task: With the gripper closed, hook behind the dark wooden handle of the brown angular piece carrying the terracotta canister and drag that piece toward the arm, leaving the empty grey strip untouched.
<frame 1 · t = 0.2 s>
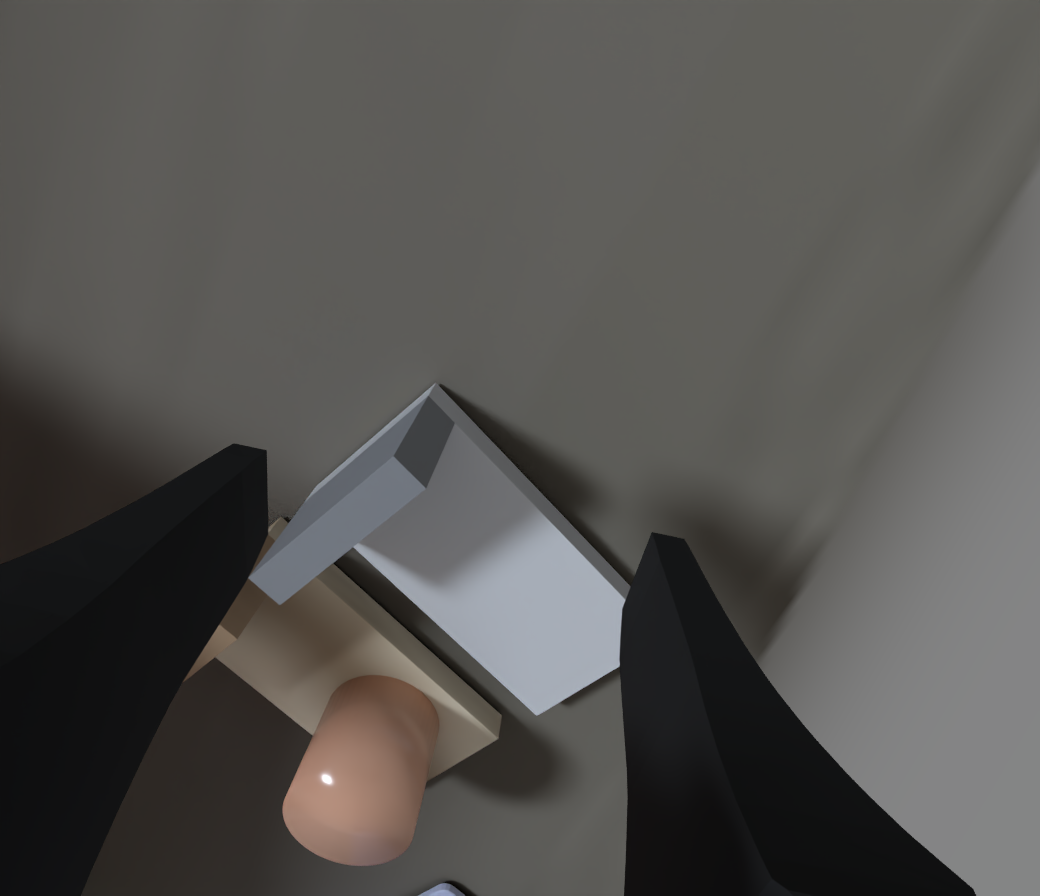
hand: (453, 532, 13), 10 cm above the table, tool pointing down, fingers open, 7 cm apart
canister: (383, 719, 28), point 1 cm above the table, touching brown angular piece
grey strip: (482, 600, 23), point 3 cm above the table, slide at 0.0 cm
brown angular piece: (322, 711, 26), point 3 cm above the table, slide at 0.0 cm, touching canister
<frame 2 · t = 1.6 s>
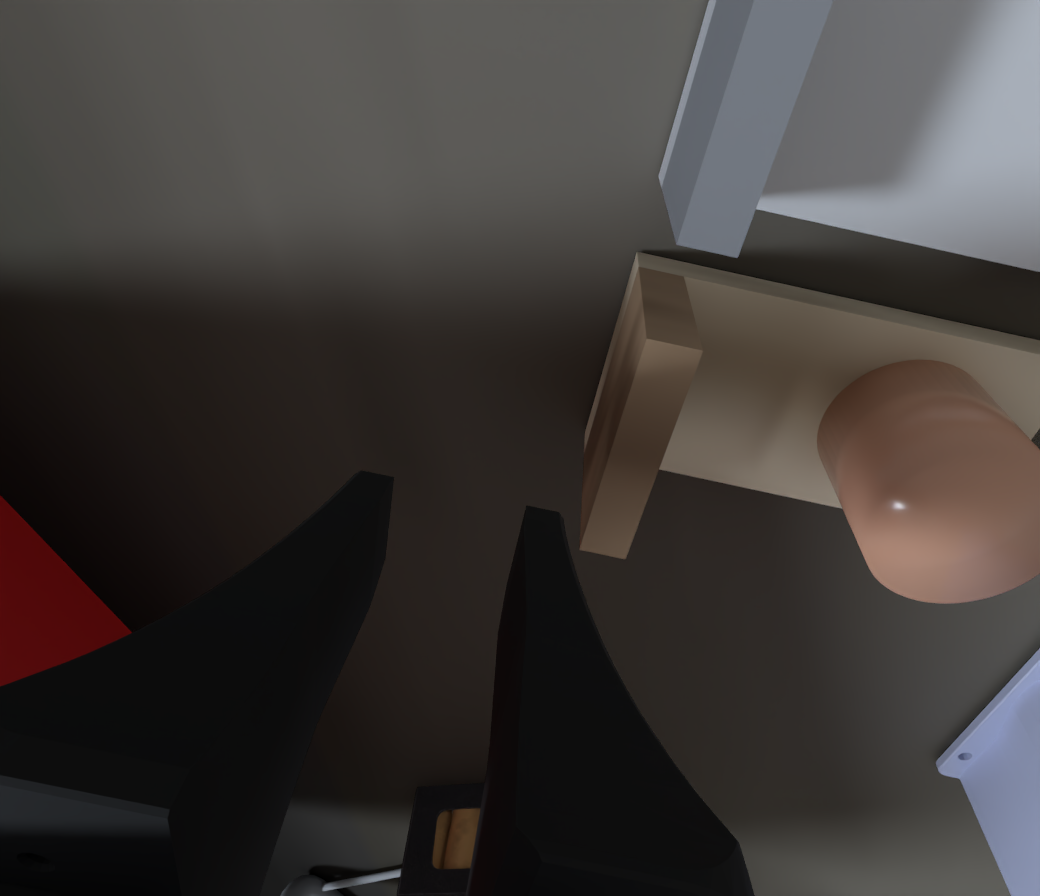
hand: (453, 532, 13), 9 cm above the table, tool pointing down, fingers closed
book: (7, 588, 30), on the table
canister: (900, 430, 20), point 1 cm above the table, touching brown angular piece
ammunition clip: (524, 787, 35), on the table
grey strip: (1000, 120, 14), point 3 cm above the table, slide at 0.0 cm
brown angular piece: (830, 443, 19), point 3 cm above the table, slide at 0.0 cm, touching canister
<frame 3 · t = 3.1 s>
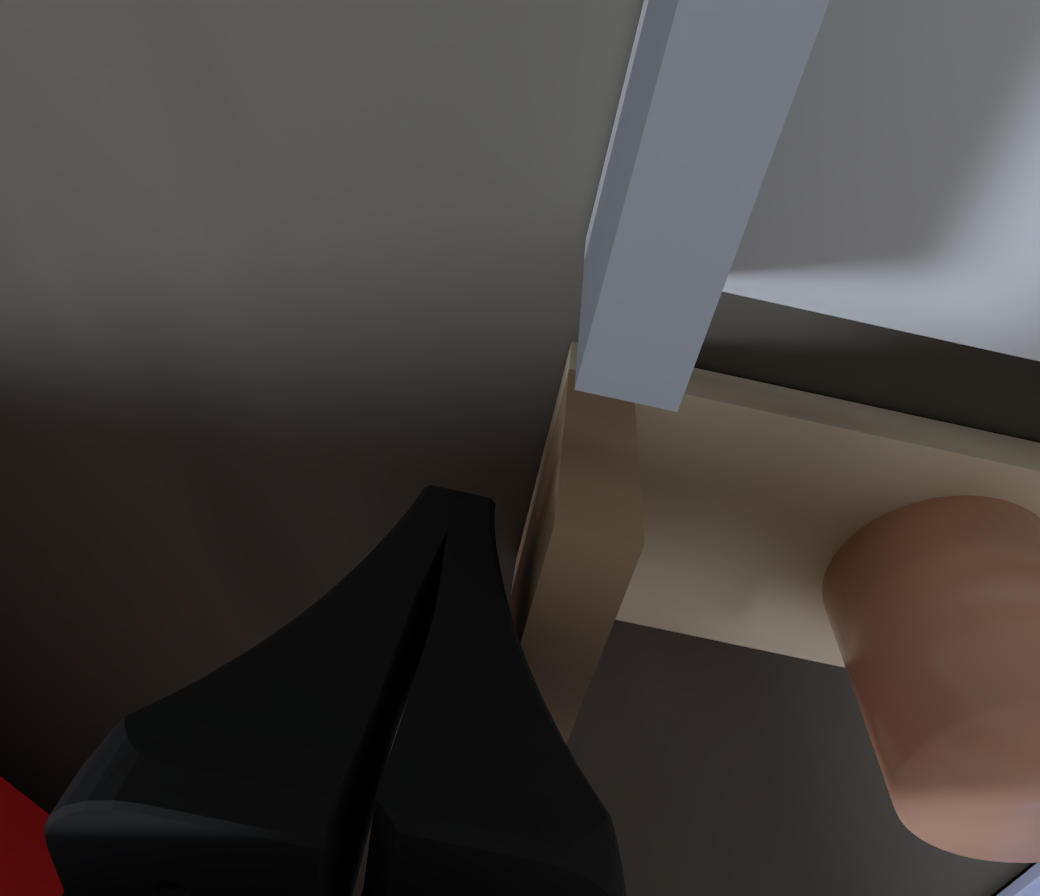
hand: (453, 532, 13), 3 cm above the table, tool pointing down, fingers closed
canister: (936, 581, 15), point 1 cm above the table, touching brown angular piece
brown angular piece: (841, 614, 13), point 3 cm above the table, slide at 0.2 cm, touching canister, gripper
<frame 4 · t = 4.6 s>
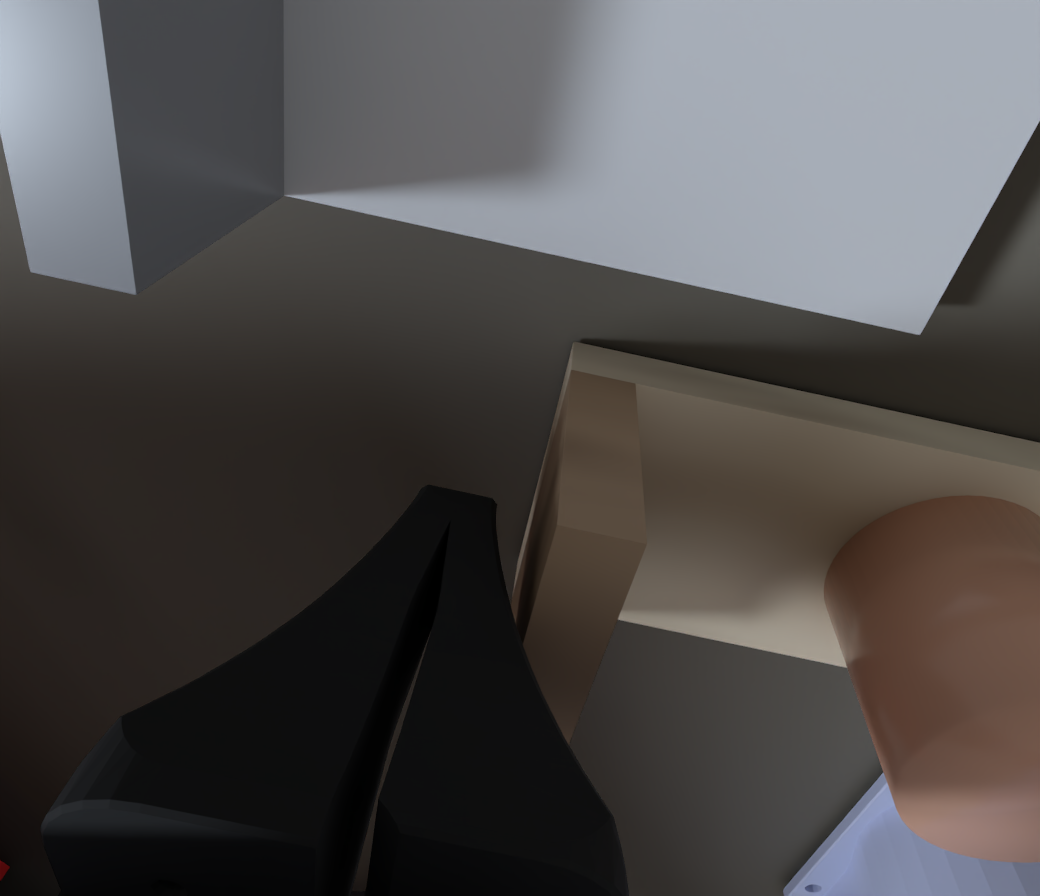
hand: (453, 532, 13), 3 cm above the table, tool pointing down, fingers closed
canister: (938, 581, 15), point 1 cm above the table, touching brown angular piece
grey strip: (618, 66, 9), point 3 cm above the table, slide at 0.0 cm
brown angular piece: (843, 614, 13), point 3 cm above the table, slide at 6.5 cm, touching canister, gripper
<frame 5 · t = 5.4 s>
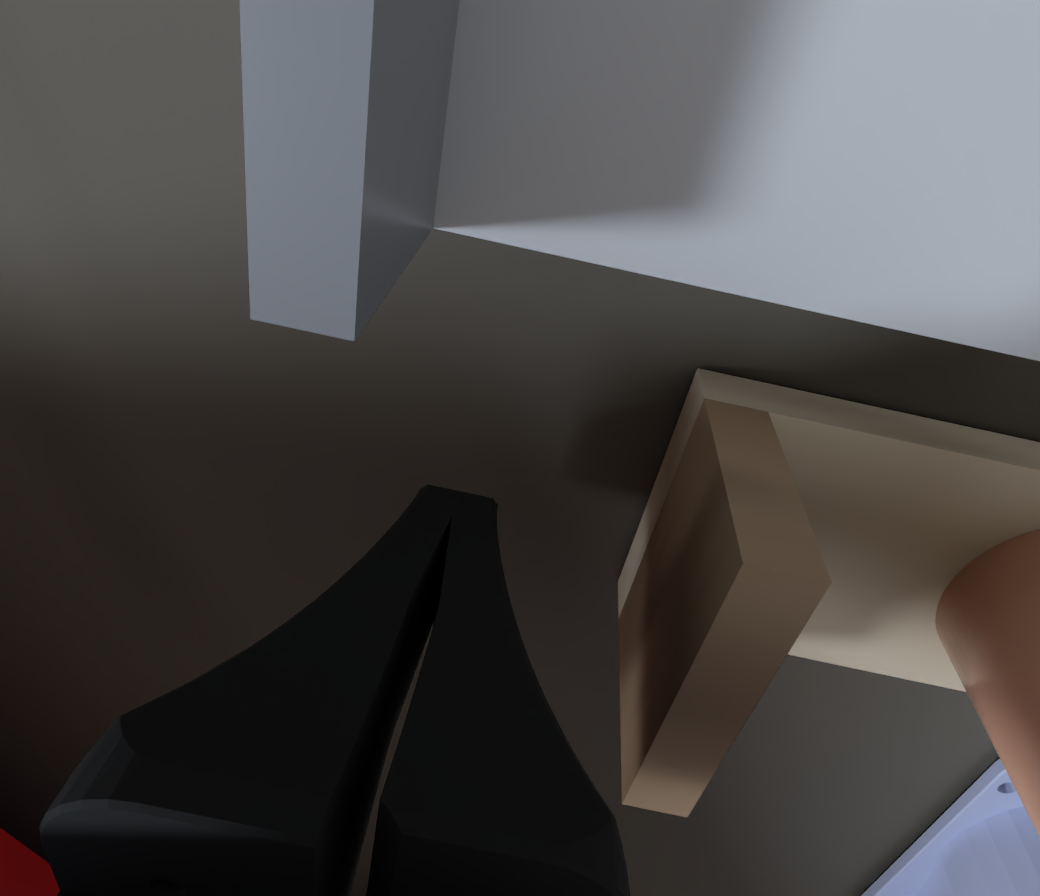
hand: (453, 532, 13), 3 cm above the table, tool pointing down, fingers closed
grey strip: (813, 111, 9), point 3 cm above the table, slide at 0.0 cm
brown angular piece: (970, 640, 13), point 3 cm above the table, slide at 6.5 cm, touching canister
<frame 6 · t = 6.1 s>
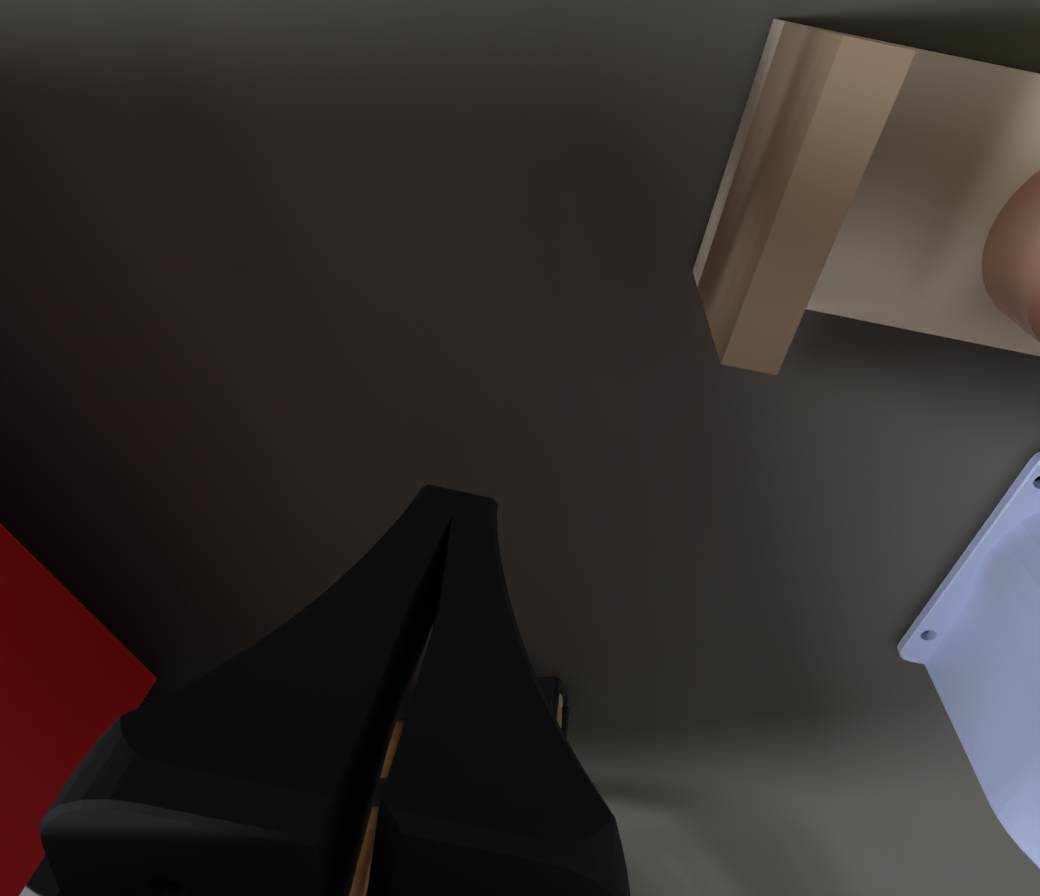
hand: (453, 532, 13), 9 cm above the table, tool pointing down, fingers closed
ammunition clip: (448, 698, 31), on the table
brown angular piece: (1017, 239, 15), point 3 cm above the table, slide at 6.5 cm, touching canister
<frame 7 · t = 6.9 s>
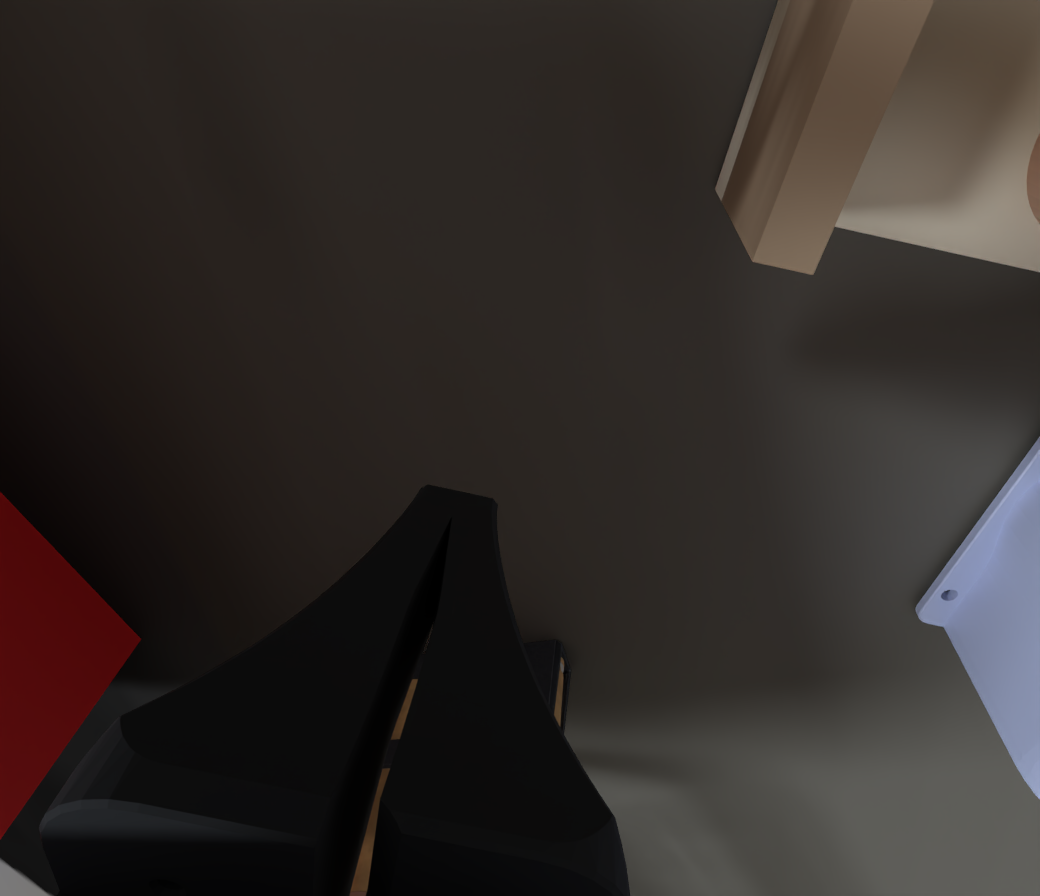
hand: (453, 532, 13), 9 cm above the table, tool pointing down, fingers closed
ammunition clip: (444, 663, 30), on the table
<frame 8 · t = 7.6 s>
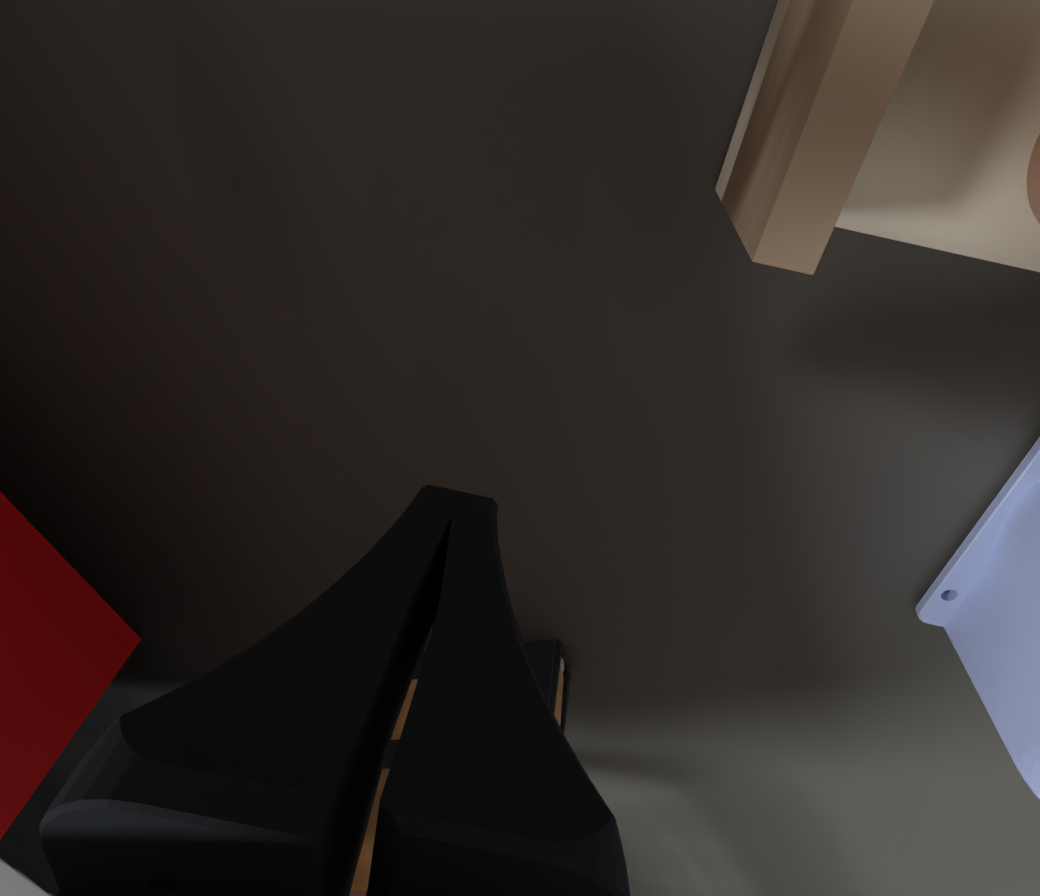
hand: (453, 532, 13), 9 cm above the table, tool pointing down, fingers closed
ammunition clip: (444, 663, 30), on the table
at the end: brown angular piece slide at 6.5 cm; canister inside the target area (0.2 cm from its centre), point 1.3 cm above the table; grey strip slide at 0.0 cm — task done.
